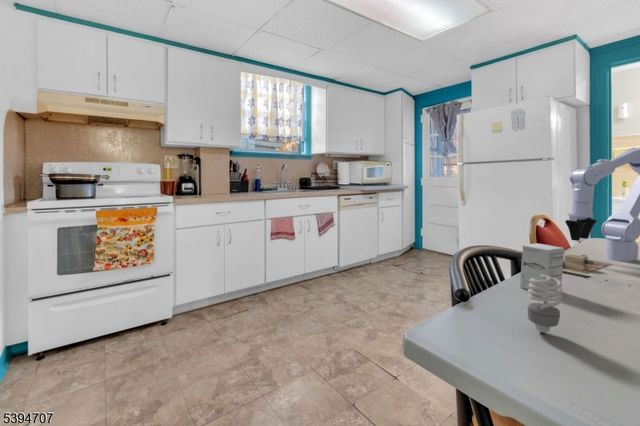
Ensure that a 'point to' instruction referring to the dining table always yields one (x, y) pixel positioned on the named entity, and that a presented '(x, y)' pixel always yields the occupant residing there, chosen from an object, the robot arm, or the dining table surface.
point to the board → (589, 269)
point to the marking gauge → (577, 262)
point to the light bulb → (544, 312)
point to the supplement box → (541, 263)
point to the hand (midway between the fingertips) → (579, 239)
